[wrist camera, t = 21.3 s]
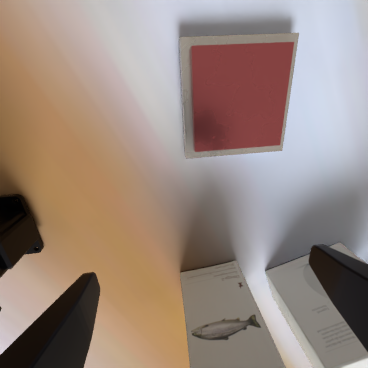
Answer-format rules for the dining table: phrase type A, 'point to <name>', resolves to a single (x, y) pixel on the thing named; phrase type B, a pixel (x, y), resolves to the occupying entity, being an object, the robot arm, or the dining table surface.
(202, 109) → the ink pad
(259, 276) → the dining table surface
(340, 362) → the skincare box
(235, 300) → the supplement box
